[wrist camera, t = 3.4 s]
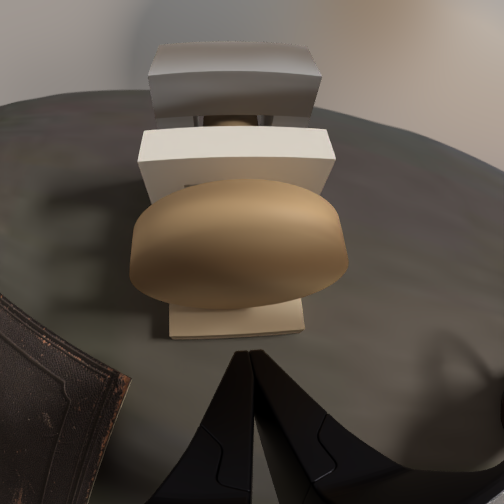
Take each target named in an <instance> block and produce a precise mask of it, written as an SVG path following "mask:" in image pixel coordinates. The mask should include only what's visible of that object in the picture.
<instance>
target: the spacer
mask: <svg viewBox="0 0 504 504" xmlns="http://www.w3.org/2000/svg"><path fill="white" fill-rule="evenodd" d="M335 160H336V158H335V155H334V152H333V149H332V145H331V142H330V140H329V137H328V134H327V131H326V129H313V128H296V127H272V126H213V127H188V128H172V129H159V130H148V131H144V134H143V138H142V143H141V147H140V152H139V157H138V165H139V168H140V171H141V174H142V177H143V180H144V183H145V186H146V189H147V192H148V195H149V198H150V201H151V204H153V203H155V202H156V201H158V200H159V199H161V198H163V197H165V196H167V195H169V194H171V193H173V192H176V191H179V190H181V189H184V188H187V187H190V185H194V184H202V183H207V182H213V181H220V180H229V179H263V180H271V181H279V182H284V183H288V184H292V185H296V186H299V187H302V188H305V189H307V190H310V191H312V192H314V193H316V194H318V195H320V193H321V191H322V189H323V187H324V185H325V182H326V180H327V178H328V176H329V174H330V171H331V169H332V167H333V165H334V162H335Z"/></svg>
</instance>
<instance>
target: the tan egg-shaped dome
mask: <svg viewBox="0 0 504 504" xmlns="http://www.w3.org/2000/svg"><path fill="white" fill-rule="evenodd" d="M213 126H258V121H257V115H207V116H204V120H203V127H213ZM348 263H349V261H348V256H347V251H346V247H345V242H344V238H343V233H342V229H341V225H340V221H339V217H338V214H337V212H336V210H335V209H334V208H333V206H332V205H331V204H330V203H329V202H328V201H326V200H325V199H324V198H322V197H321V196H319V195H318V194H316V193H314V192H312V191H310V190H307V189H305V188H302V187H299V186H296V185H292V184H288V183H284V182H279V181H271V180H263V179H229V180H220V181H213V182H207V183H202V184H198V185H194V186H190V187H187V188H184V189H181V190H179V191H176V192H173V193H171V194H169V195H167V196H165V197H163V198H161V199H159V200H158V201H156V202H155V203H153V204H152V205H151V206H149V207H148V208H147V209H146V210H145V211H144V212H143V213H142V214H141V215H140V217H139V218H138V220H137V221H136V224H135V226H134V230H133V238H132V248H131V259H130V272H129V277H130V281H131V282H132V284H133V285H134V286H135V287H136V288H137V289H138V290H139V291H141V292H142V293H144V294H145V295H147V296H149V297H152V298H154V299H157V300H160V301H163V302H166V303H170V304H175V305H180V306H186V307H194V308H206V309H238V308H251V307H260V306H267V305H273V304H278V303H283V302H288V301H291V300H295V299H299V298H302V297H305V296H308V295H311V294H313V293H316V292H318V291H320V290H322V289H324V288H326V287H328V286H330V285H331V284H333V283H334V282H336V281H337V280H338V279H340V278H341V277H342V276H343V274H344V273H345V272H346V270H347V268H348Z"/></svg>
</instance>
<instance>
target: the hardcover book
mask: <svg viewBox="0 0 504 504" xmlns="http://www.w3.org/2000/svg"><path fill="white" fill-rule="evenodd" d="M131 381H132V378H130V377H128V376H126V375H124V374H122V373H120V372H119V371H117V370H115V369H113V368H111V367H109V366H107V365H106V364H104V363H102V362H100V361H99V360H97V359H95V358H93V357H92V356H90V355H88V354H87V353H85V352H83V351H82V350H80V349H78V348H77V347H75V346H73V345H72V344H70V343H69V342H67V341H65V340H64V339H62V338H61V337H59V336H58V335H56V334H55V333H53V332H52V331H50V330H49V329H47V328H46V327H44V326H43V325H42V324H40V323H39V322H37V321H36V320H35V319H33V318H32V317H30V316H29V315H28V314H26V313H25V312H24V311H22V310H21V309H20V308H18V307H17V306H16V305H14V304H13V303H12V302H11V301H9V300H8V299H7V298H6V297H4V296H3V295H2V294H1V293H0V504H88V501H89V498H90V495H91V491H92V488H93V485H94V482H95V479H96V476H97V473H98V470H99V467H100V464H101V461H102V458H103V455H104V452H105V449H106V447H107V444H108V441H109V438H110V435H111V433H112V430H113V427H114V425H115V422H116V419H117V417H118V414H119V411H120V409H121V406H122V403H123V401H124V398H125V396H126V393H127V391H128V388H129V386H130V383H131Z"/></svg>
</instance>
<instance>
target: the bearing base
mask: <svg viewBox="0 0 504 504" xmlns="http://www.w3.org/2000/svg"><path fill="white" fill-rule="evenodd" d="M321 78H322V76H321V73H320V71H319V69H318V67H317V65H316V63H315V61H314V59H313V57H312V55H311V53H310V51H309V49H308V47H307V46H302V45H292V44H282V43H268V42H246V41H245V42H244V41H215V42H214V41H212V42H189V43H176V44H164V45H159V47H158V49H157V52H156V55H155V57H154V60H153V63H152V65H151V68H150V71H149V74H148V80H149V86H150V92H151V98H152V103H153V109H154V114H155V119H156V124H157V129H158V130H159V129H172V128H188V127H199V122H198V116H207V115H261V122H260V126H272V127H296V128H307V126H308V123H309V120H310V116H311V113H312V109H313V106H314V102H315V99H316V95H317V92H318V89H319V85H320V82H321ZM194 185H198V184H194ZM194 185H190V186H194ZM304 329H305V327H304V318H303V310H302V303H301V298H299V299H295V300H291V301H288V302H283V303H278V304H273V305H267V306H260V307H251V308H238V309H206V308H194V307H186V306H180V305H175V304H170V303H169V336H170V337H171V338H172V339H173V340H175V339H216V338H237V337H254V336H269V335H281V334H293V333H300V332H301V331H303V330H304Z"/></svg>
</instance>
